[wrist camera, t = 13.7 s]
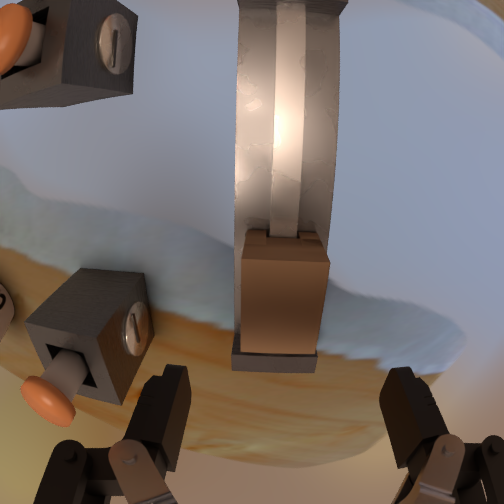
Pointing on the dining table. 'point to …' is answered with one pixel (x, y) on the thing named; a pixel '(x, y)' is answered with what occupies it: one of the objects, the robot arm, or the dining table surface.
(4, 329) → the cup
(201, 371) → the dining table surface
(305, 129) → the rail
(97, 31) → the cabinet
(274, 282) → the carriage
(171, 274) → the dining table surface
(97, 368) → the cabinet
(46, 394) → the plunger
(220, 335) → the dining table surface
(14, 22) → the plunger
